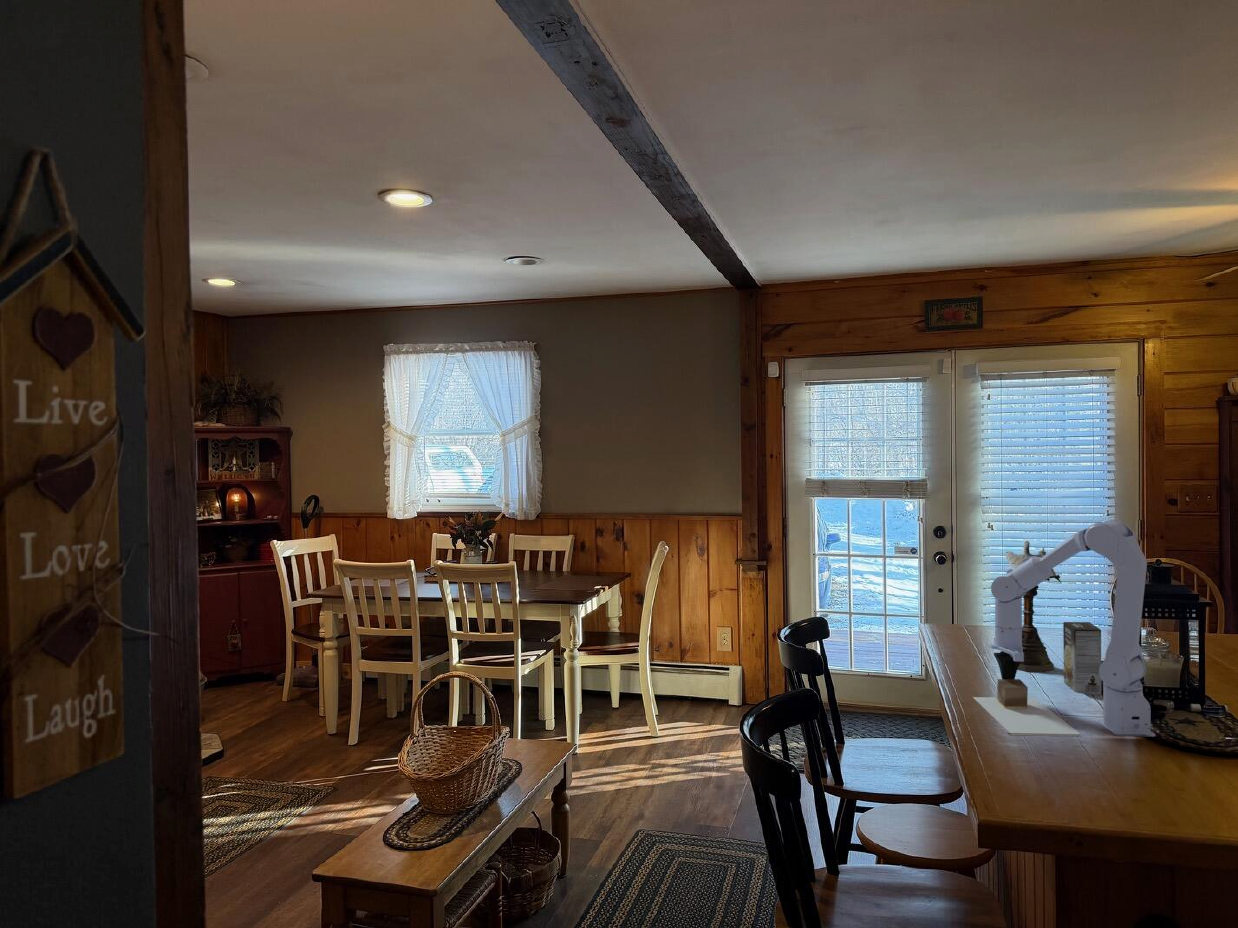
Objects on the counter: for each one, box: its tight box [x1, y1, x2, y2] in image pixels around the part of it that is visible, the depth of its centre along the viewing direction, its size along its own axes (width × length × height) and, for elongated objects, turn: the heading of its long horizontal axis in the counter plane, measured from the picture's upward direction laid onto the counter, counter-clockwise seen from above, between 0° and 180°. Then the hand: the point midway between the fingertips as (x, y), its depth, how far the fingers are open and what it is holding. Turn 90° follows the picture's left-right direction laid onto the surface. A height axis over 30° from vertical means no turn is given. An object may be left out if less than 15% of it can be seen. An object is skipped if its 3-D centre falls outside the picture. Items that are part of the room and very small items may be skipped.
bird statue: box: [1004, 540, 1062, 673], centre depth 230 cm, size 17×13×35 cm
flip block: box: [996, 678, 1029, 708], centre depth 196 cm, size 5×5×5 cm
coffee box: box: [1062, 621, 1102, 696], centre depth 210 cm, size 9×6×16 cm
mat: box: [972, 696, 1082, 738], centre depth 190 cm, size 26×14×1 cm, turn 173°
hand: (1008, 684), depth 199 cm, fingers closed, pressing on flip block
